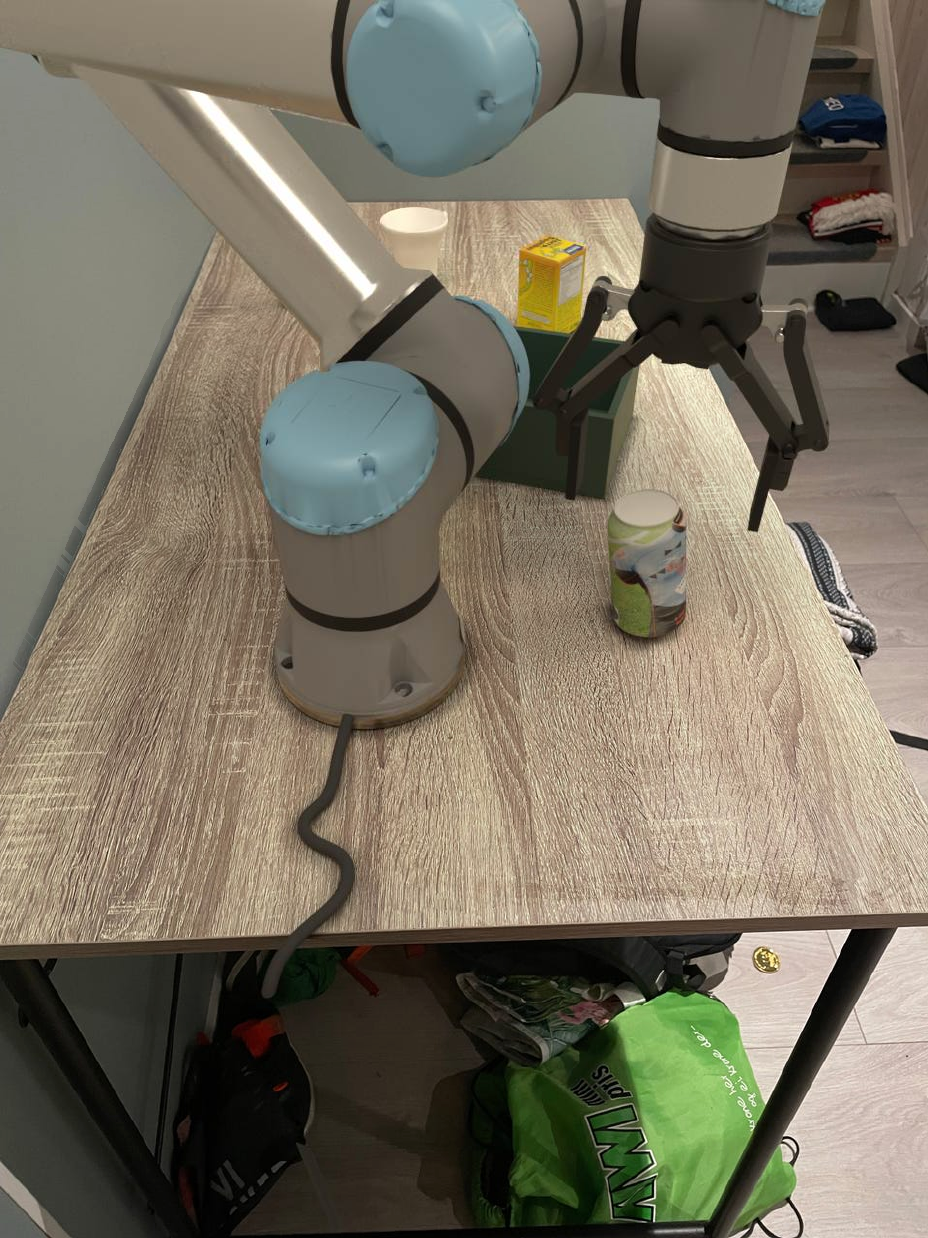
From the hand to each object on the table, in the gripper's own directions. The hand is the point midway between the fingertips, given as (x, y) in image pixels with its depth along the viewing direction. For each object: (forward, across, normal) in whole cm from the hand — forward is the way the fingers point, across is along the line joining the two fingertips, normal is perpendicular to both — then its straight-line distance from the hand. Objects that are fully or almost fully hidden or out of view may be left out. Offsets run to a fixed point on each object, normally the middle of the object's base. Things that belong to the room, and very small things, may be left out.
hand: (661, 505), depth 69 cm
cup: (+12, +40, -56) cm, 70 cm away
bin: (+12, +14, -24) cm, 30 cm away
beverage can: (+12, 0, 0) cm, 12 cm away
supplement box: (+12, +20, -49) cm, 54 cm away
